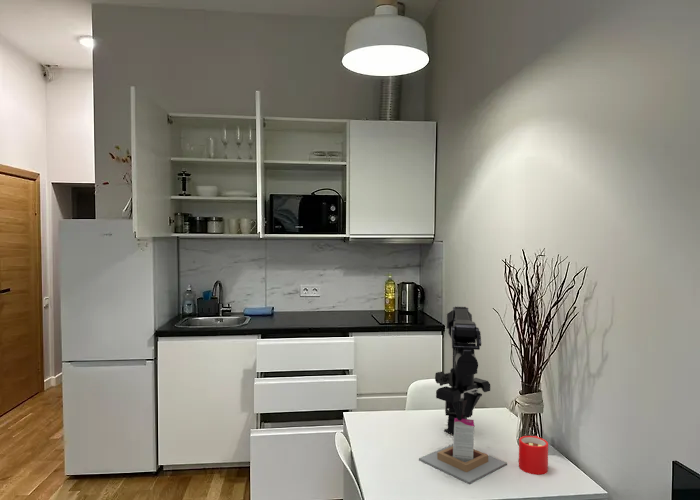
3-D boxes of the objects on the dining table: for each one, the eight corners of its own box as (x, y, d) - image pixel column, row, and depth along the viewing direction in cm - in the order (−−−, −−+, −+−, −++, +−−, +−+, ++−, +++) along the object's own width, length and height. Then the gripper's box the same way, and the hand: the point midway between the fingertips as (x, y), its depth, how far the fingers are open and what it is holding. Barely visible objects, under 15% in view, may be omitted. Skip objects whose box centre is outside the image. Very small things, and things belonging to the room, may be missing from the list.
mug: (549, 459, 146) (550, 433, 145) (546, 477, 135) (547, 449, 135) (521, 454, 149) (522, 428, 149) (516, 471, 138) (517, 443, 138)
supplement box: (473, 465, 140) (474, 426, 139) (452, 463, 141) (453, 424, 141) (473, 457, 145) (473, 419, 145) (452, 454, 147) (453, 417, 146)
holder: (457, 444, 156) (457, 436, 156) (506, 464, 142) (507, 455, 142) (418, 460, 144) (419, 451, 144) (469, 484, 130) (469, 474, 130)
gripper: (461, 355, 154) (460, 404, 155) (422, 365, 143) (421, 418, 143) (491, 363, 146) (490, 414, 146) (452, 373, 134) (451, 429, 134)
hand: (463, 418), depth 143 cm, fingers open, 3 cm apart
